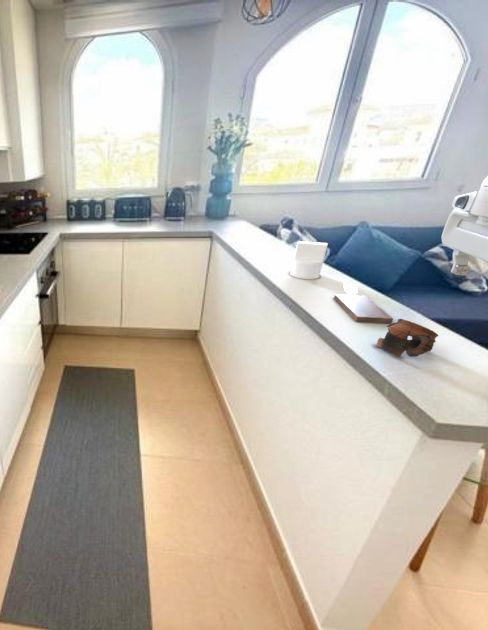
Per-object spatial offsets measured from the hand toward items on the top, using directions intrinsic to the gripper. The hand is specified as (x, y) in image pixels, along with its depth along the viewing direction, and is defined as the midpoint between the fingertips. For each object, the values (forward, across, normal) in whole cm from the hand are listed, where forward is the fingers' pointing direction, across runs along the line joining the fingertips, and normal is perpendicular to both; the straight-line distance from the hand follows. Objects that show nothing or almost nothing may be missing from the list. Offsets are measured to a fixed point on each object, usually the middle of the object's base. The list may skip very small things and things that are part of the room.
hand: (476, 282), depth 62 cm
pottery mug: (+21, +10, 0) cm, 23 cm away
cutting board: (+21, +33, 0) cm, 39 cm away
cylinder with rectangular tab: (+21, +63, +6) cm, 67 cm away
